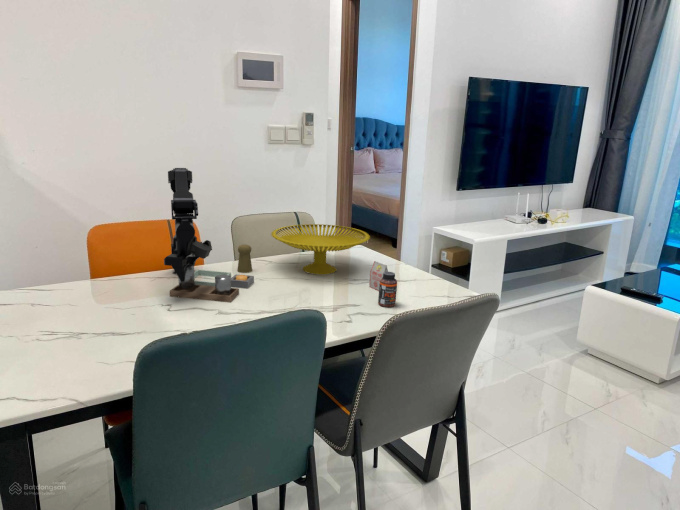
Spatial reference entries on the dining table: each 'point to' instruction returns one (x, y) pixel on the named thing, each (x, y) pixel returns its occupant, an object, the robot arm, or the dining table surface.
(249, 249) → the cork
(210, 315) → the dining table surface
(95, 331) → the dining table surface
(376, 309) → the dining table surface
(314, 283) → the dining table surface
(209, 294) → the walnut pallet
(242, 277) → the button
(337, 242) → the yellow pedestal fruit bowl
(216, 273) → the sage tote
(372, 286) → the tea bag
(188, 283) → the cylinder
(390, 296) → the supplement bottle
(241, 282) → the button housing
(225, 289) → the seated steel billet
